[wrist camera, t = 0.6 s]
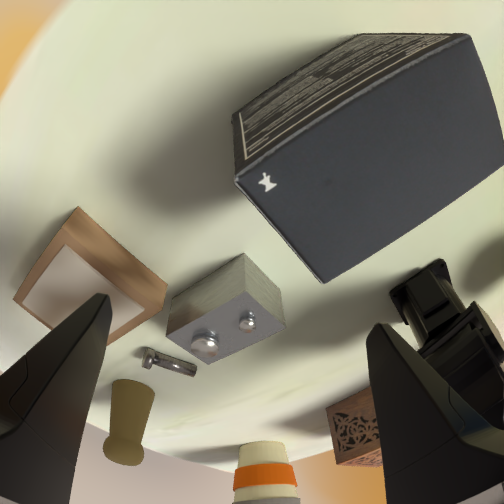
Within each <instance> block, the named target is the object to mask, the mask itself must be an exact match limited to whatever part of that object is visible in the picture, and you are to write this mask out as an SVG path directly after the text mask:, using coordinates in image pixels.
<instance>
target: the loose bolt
mask: <svg viewBox="0 0 504 504" xmlns="http://www.w3.org/2000/svg"><path fill="white" fill-rule="evenodd" d="M152 364H155V365H158V366H161V367H163V368H166V369H169V370H172V371H175V372H178V373H181V374H184V375H188V376H191V377H194V376H195V374H196V371H197V366H196V365H193V364H190V363H187V362H184V361H181V360H178V359H175V358H172V357H169V356H166V355H164V354H161V353H158V352H155V350H152V349H149V348H147V350H146V352H145V354H144V357H143V361H142V367H144V368H147V369H150V368H151V367H152Z"/></svg>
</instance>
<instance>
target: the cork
mask: <svg viewBox="0 0 504 504" xmlns="http://www.w3.org/2000/svg"><path fill="white" fill-rule="evenodd" d="M154 396H155V393H154V391H153V390H152V389H151V388H150V387H148V386H146V385H144V384H143V383H140V382H137V381H133V380H126V379H121V380H116V381H114V382H113V384H112V397H111V412H110V436H109V437H108V438H106V440H105V442H104V444H103V452H104V454H105V456H106V457H107V458H108V459H110V460H111V461H113V462H116V463H119V464H122V465H128V466H136V465H138V464H140V463H141V462H142V460H143V458H144V450H143V447H142V445H141V441H142V437H143V434H144V430H145V427H146V423H147V420H148V417H149V413H150V410H151V406H152V403H153V400H154Z"/></svg>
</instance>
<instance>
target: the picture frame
mask: <svg viewBox="0 0 504 504" xmlns="http://www.w3.org/2000/svg"><path fill="white" fill-rule="evenodd" d="M167 286H168V284H166V283H165V282H164V281H163V280H162V279H160V278H159V277H158V276H157V275H155V274H154V273H153V272H152V271H151V270H149V269H148V268H147V267H146V266H145V265H144V264H142V263H141V262H140V261H139V260H138V259H136V258H135V257H134V256H133V255H132V254H131V253H129V252H128V251H127V250H126V249H125V248H124V247H123V246H121V245H120V244H119V243H118V242H117V241H116V240H115V239H114V238H112V237H111V236H110V235H109V234H108V233H107V232H106V231H105V230H103V229H102V228H101V227H100V226H99V225H98V224H97V223H96V222H95V221H94V220H93V219H91V218H90V217H89V216H88V215H87V214H86V213H85V212H84V211H83V210H82V209H81V208H80V207H79V206H78V207H77V208H76V210H75V211H74V212H73V213H72V215H71V216H70V217H69V218H68V220H67V221H66V222H65V223H64V225H63V226H62V227H61V228H60V230H59V231H58V232H57V234H56V235H55V236H54V238H53V239H52V241H51V242H50V243H49V245H48V246H47V247H46V249H45V250H44V252H43V253H42V255H41V256H40V257H39V259H38V260H37V262H36V263H35V265H34V266H33V268H32V269H31V271H30V272H29V274H28V275H27V277H26V278H25V280H24V282H23V283H22V285H21V286H20V288H19V290H18V291H17V293H16V294H15V296H14V298H13V300H14V301H15V302H16V303H18V304H19V305H20V306H21V307H22V308H24V309H25V310H26V311H27V312H29V313H30V314H31V315H32V316H34V317H35V318H36V319H37V320H39V321H40V322H41V323H43V324H44V325H45V326H47V327H48V328H49V329H51V330H53V329H54V328H55V327H56V326H57V325H58V324H60V323H61V322H62V321H63V320H64V319H65V318H67V317H68V316H69V315H70V314H71V313H73V312H74V311H75V310H76V309H77V308H78V307H80V306H81V305H82V304H83V303H84V302H86V301H87V300H88V299H89V298H91V297H92V296H93V295H94V294H96V293H98V292H100V293H105V294H108V295H109V296H110V300H111V306H112V311H113V317H112V322H111V326H110V331H109V336H108V340H107V345H106V346H108V345H109V344H111V343H112V342H114V341H116V340H117V339H119V338H120V337H122V336H123V335H125V334H126V333H128V332H129V331H131V330H132V329H134V328H135V327H137V326H139V325H140V324H142V323H143V322H145V321H146V320H148V319H149V318H151V317H152V316H154V315H155V314H157V313H158V312H160V311H161V310H162V308H163V303H164V299H165V294H166V290H167Z"/></svg>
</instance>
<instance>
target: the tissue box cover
mask: <svg viewBox="0 0 504 504" xmlns="http://www.w3.org/2000/svg"><path fill="white" fill-rule="evenodd" d="M326 411H327V416H328V421H329V426H330V431H331V437H332V442H333V448H334V453H335V459H336V464H337V465H348V466H365V467H379V466H382V465H383V462H382V454H381V446H380V439H379V433H378V426H377V420H376V414H375V408H374V402H373V396H372V391H371V386H370V387H368V388H366V389H364V390H362V391H360V392H358V393H356V394H354V395H353V396H351V397H349V398H347V399H345V400H342V401H340V402H338V403H336V404H334V405H332V406H330V407H328V408H326Z"/></svg>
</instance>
